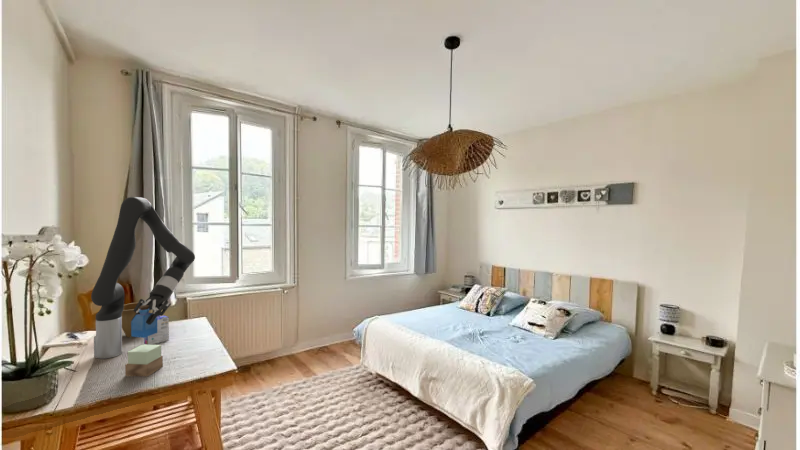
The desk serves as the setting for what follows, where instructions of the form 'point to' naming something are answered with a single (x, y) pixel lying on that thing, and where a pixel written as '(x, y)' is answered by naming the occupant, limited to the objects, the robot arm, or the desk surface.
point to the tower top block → (144, 354)
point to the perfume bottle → (143, 324)
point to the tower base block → (143, 368)
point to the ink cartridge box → (159, 331)
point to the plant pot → (128, 318)
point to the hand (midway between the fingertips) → (140, 323)
